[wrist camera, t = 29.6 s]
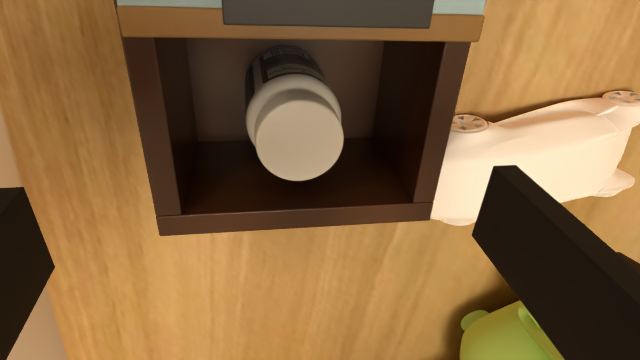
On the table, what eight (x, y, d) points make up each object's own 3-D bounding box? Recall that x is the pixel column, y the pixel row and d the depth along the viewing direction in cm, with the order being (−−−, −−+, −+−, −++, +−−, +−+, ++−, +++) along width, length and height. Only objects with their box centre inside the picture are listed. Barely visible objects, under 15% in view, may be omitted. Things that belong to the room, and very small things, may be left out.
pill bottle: (288, 132, 27) (304, 205, 20) (229, 88, 25) (223, 153, 18) (337, 78, 26) (373, 136, 19) (279, 26, 23) (294, 69, 16)
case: (182, 151, 28) (159, 236, 20) (132, -208, 18) (53, -303, 11) (382, 146, 30) (430, 220, 22) (429, -178, 21) (537, -238, 13)
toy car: (641, 84, 31) (697, 107, 27) (611, 173, 35) (656, 204, 31) (407, 121, 29) (432, 151, 25) (406, 210, 33) (427, 246, 30)
